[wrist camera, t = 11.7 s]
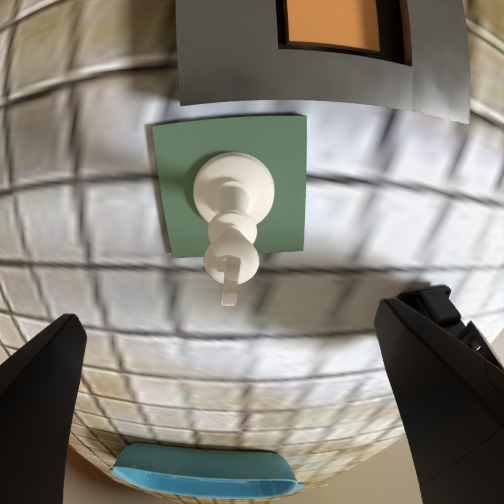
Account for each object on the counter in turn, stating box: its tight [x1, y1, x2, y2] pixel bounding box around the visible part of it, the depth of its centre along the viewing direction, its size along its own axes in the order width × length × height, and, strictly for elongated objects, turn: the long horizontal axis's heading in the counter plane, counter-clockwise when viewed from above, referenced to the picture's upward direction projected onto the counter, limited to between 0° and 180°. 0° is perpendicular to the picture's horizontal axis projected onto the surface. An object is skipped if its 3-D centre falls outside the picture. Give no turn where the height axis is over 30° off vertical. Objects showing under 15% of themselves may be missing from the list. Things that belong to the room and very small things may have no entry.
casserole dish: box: [109, 443, 304, 499], centre depth 41 cm, size 37×22×7 cm, turn 86°
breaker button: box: [283, 0, 380, 53], centre depth 11 cm, size 5×5×1 cm
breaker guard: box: [176, 0, 470, 124], centre depth 10 cm, size 12×16×4 cm
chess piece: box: [193, 152, 274, 306], centre depth 13 cm, size 5×5×10 cm
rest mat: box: [152, 115, 307, 258], centre depth 18 cm, size 9×9×1 cm
